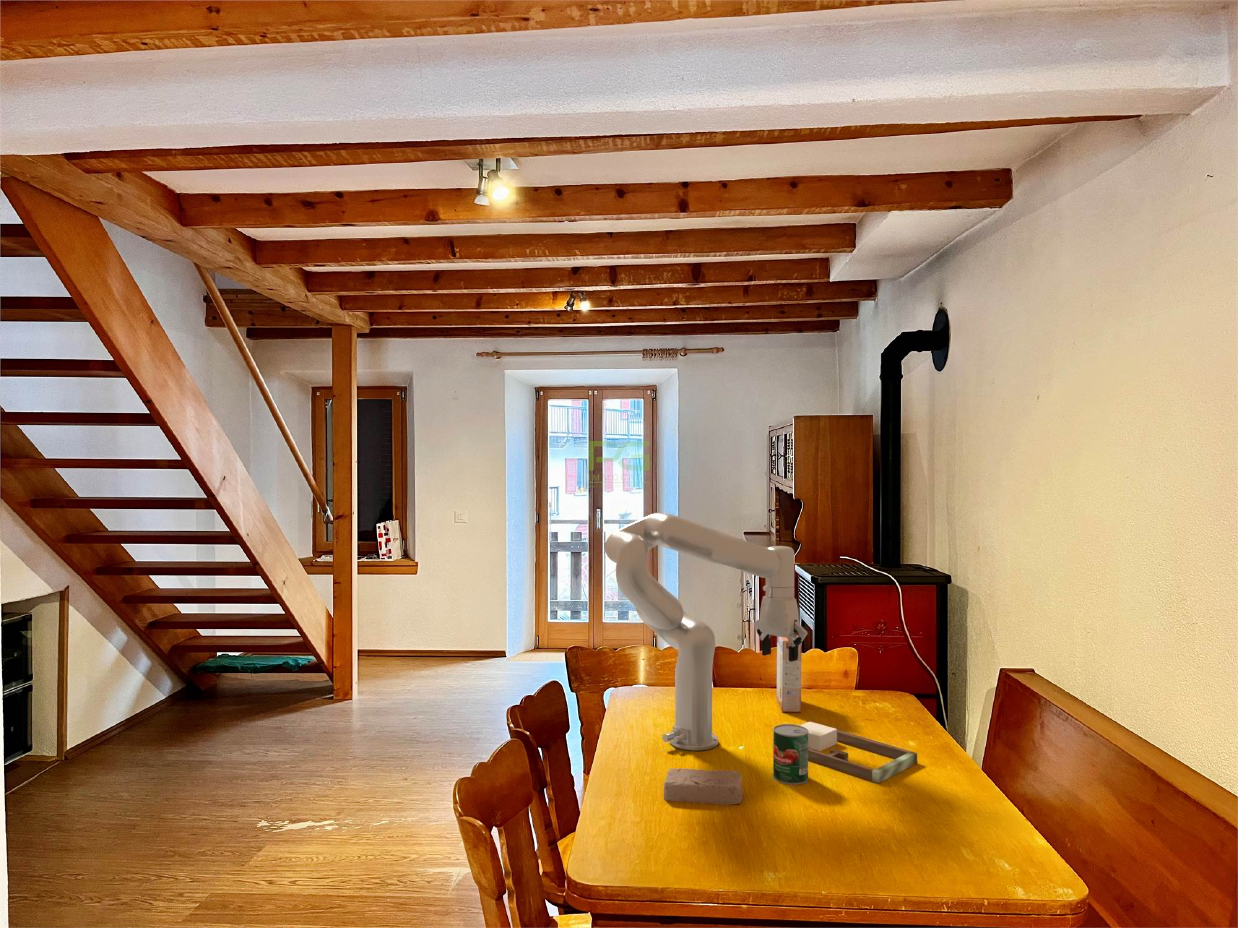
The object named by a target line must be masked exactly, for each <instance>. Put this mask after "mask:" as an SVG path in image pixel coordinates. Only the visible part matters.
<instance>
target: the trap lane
mask: <svg viewBox="0 0 1238 928" xmlns="http://www.w3.org/2000/svg"><path fill="white" fill-rule="evenodd" d="M838 742H839V743H842V744H845V745H849V746H852V747H854V748H858V749H862V750H865V751H867V752H872V753H875V754H878V755H880V756H881V755H882V756H885V757H888V758H892V759H893V760H891V761H889V762H886V763H885V764H883V765H882V766H879V767H877V768H875V769H874V768H871V767H867V766H864V765H861V764H858V763H855V762H851V761H849V753H848V752H845V751H842V750H840V749H837V748H831V749H829V754H827V753H824V752H822V751H817V750H814V749H811V748H808V761H810V762H812V763H813V762H814V763H816V764H819V765H822V766H823V767H824V766H825V767H828V768H831V769H834V770H837V771H840V772H843V773H845V774H849V775H852V776H855V777H858V778H860V779H864V780H867V781H868V782H869V781H870V782H873V783H875V784H880V783H883V782H885V781H886V780H888V779H889V778H892V777H893V776H896V775H897V774H900V773H901V772H903V771H905V770H907V769H908V768H911V767H912V766H915V765H917V764H918V753H917V752H915V751H912V750H909V749H905V748H900V747H897V746H894V745H892V744H888V743H883V742H881V741H879V740H878V741H877V740H874V739H871V738H867V737H863V736H861V735H856V734H853V733H850V732H847V731H843V730H840V729H837V743H838Z"/></svg>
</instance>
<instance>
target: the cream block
mask: <svg viewBox="0 0 1238 928" xmlns="http://www.w3.org/2000/svg"><path fill="white" fill-rule="evenodd" d="M799 726H802V727H805V728H806V729H808V732H809V733H808V748H809V749H812V750H815V751H818V752H822V751H824V750H825V749H828V748H830V747H833V746H834V745H836V744H837V743H838V741H837V730H838V728H836V727H835V728H834V727H830V726H827V725H824V724H820V723H818V722H817V723H816V722H813V721H808V722H805V723H802V724H801V725H799Z"/></svg>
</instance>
